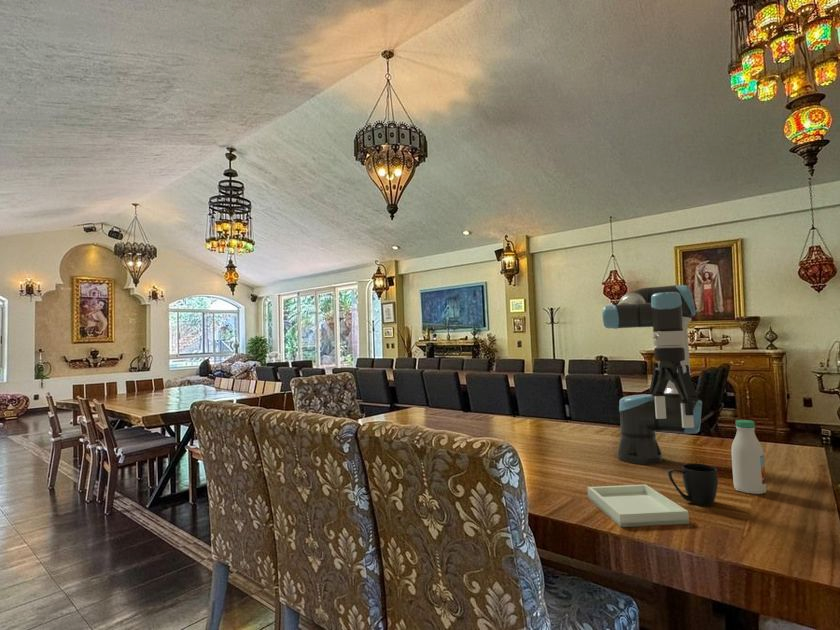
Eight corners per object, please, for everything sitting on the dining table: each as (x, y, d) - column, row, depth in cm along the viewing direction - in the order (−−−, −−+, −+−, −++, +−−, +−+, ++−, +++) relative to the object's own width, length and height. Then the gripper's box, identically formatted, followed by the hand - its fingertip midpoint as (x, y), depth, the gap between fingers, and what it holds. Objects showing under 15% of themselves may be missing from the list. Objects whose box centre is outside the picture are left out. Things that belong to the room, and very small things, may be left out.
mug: (665, 496, 128) (662, 462, 128) (711, 497, 125) (709, 463, 126) (675, 507, 120) (672, 471, 120) (725, 509, 117) (722, 472, 118)
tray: (646, 494, 129) (645, 484, 129) (689, 523, 109) (688, 511, 109) (588, 497, 129) (587, 487, 129) (620, 527, 109) (619, 514, 109)
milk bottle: (757, 496, 125) (752, 424, 126) (728, 489, 131) (723, 420, 132) (772, 491, 128) (766, 421, 129) (742, 484, 135) (737, 417, 136)
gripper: (634, 346, 139) (639, 415, 138) (680, 348, 114) (686, 432, 113) (659, 345, 139) (663, 414, 138) (710, 347, 114) (716, 431, 113)
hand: (673, 422), depth 125 cm, fingers open, 13 cm apart
